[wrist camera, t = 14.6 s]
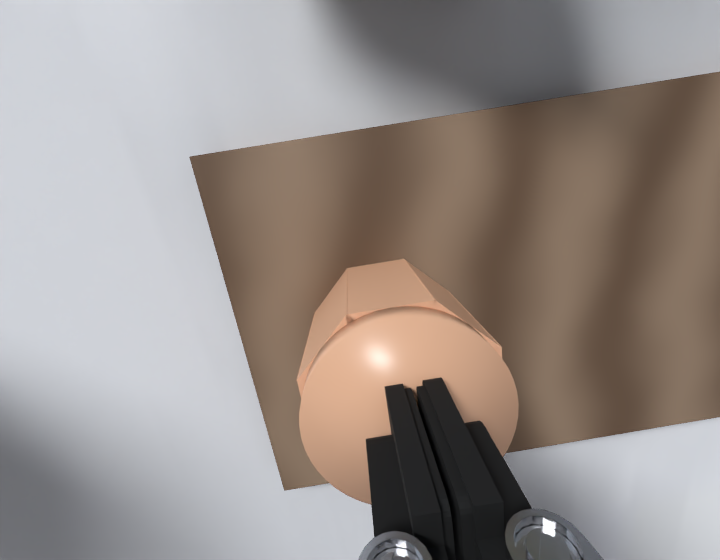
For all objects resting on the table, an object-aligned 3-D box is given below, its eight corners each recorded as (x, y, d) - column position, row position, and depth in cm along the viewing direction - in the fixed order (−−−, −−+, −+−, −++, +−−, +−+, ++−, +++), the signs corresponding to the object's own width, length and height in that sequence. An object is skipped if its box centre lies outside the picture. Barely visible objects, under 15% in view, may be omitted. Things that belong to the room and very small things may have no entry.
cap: (397, 407, 18) (426, 539, 11) (292, 341, 17) (256, 445, 10) (478, 311, 17) (564, 396, 10) (371, 234, 16) (388, 271, 9)
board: (764, 68, 16) (806, 58, 14) (707, 398, 21) (734, 414, 20) (203, 158, 16) (189, 156, 14) (288, 469, 21) (284, 490, 20)
